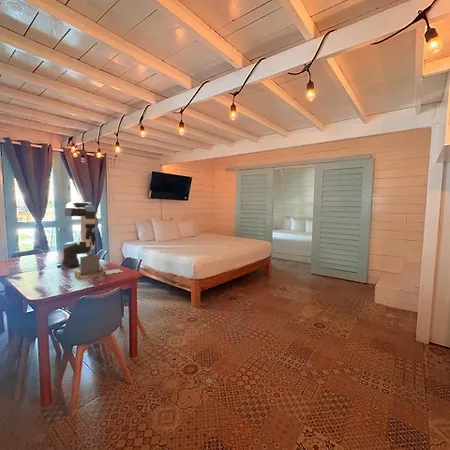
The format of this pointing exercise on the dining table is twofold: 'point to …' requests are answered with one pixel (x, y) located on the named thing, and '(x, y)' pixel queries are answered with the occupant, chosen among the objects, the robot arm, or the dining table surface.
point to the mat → (113, 271)
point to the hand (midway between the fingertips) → (90, 247)
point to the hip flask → (89, 264)
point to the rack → (101, 272)
